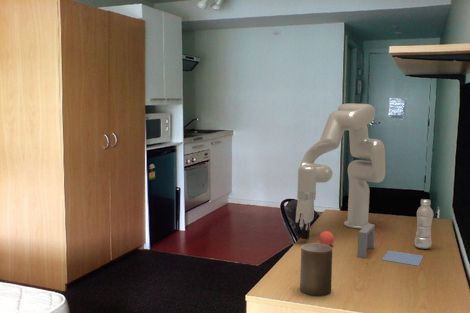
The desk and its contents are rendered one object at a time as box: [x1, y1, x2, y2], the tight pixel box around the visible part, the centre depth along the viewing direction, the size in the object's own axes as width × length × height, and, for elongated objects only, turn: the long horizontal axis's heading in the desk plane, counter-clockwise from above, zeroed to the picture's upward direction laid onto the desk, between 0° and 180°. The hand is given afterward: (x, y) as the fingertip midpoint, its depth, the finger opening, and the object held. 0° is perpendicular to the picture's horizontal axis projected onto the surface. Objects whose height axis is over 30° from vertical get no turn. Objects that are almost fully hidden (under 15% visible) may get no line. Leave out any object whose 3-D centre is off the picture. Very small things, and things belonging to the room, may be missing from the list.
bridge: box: [356, 223, 376, 259], centre depth 186 cm, size 3×15×10 cm, turn 152°
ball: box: [318, 230, 335, 246], centre depth 194 cm, size 6×6×6 cm
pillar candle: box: [299, 242, 333, 297], centre depth 147 cm, size 10×10×15 cm
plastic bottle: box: [414, 198, 434, 250], centre depth 192 cm, size 6×7×20 cm
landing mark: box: [381, 250, 424, 267], centre depth 180 cm, size 13×13×1 cm
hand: (304, 238), depth 198 cm, fingers closed
